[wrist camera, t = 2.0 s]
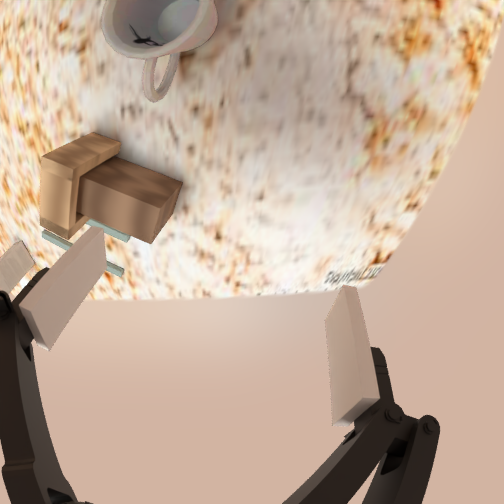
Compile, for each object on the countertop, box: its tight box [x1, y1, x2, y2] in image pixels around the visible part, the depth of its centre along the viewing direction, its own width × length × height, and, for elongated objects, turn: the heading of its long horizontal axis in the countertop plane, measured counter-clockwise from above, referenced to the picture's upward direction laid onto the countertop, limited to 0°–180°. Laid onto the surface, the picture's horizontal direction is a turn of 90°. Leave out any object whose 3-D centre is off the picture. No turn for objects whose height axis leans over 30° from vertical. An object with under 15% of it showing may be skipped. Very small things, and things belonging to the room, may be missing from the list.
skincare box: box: [0, 241, 35, 294], centre depth 42 cm, size 6×4×12 cm
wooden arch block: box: [40, 133, 121, 240], centre depth 31 cm, size 5×10×11 cm, turn 156°
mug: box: [102, 0, 218, 103], centre depth 22 cm, size 10×15×10 cm
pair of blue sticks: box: [42, 218, 130, 277], centre depth 42 cm, size 18×9×1 cm, turn 66°
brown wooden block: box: [76, 156, 183, 244], centre depth 33 cm, size 16×5×8 cm, turn 67°
